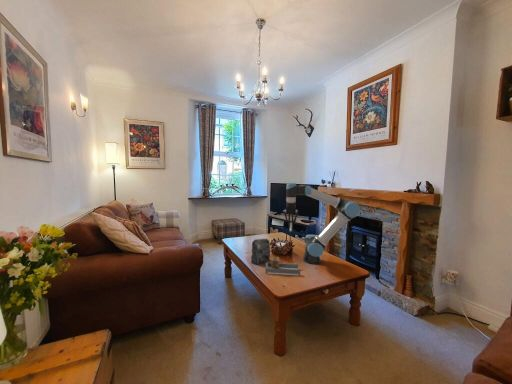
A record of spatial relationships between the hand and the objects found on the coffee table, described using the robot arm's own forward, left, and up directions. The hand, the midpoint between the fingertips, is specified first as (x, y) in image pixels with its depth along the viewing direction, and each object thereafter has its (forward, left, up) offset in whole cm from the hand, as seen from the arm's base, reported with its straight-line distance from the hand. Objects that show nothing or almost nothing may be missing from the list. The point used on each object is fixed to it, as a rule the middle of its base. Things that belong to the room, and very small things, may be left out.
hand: (290, 230), depth 185 cm
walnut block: (+12, +11, -28) cm, 33 cm away
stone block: (+24, -5, -30) cm, 38 cm away
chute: (+6, +11, -30) cm, 32 cm away
